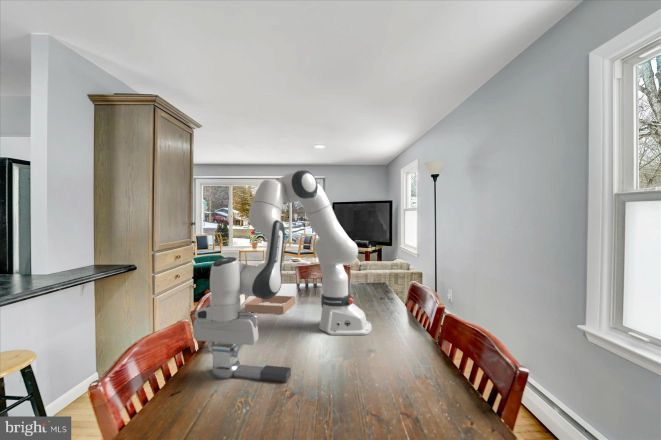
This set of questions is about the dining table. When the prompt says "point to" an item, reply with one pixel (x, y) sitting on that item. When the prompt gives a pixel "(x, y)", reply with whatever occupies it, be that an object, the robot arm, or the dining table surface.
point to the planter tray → (276, 309)
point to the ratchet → (253, 372)
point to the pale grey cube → (224, 354)
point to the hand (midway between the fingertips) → (226, 355)
